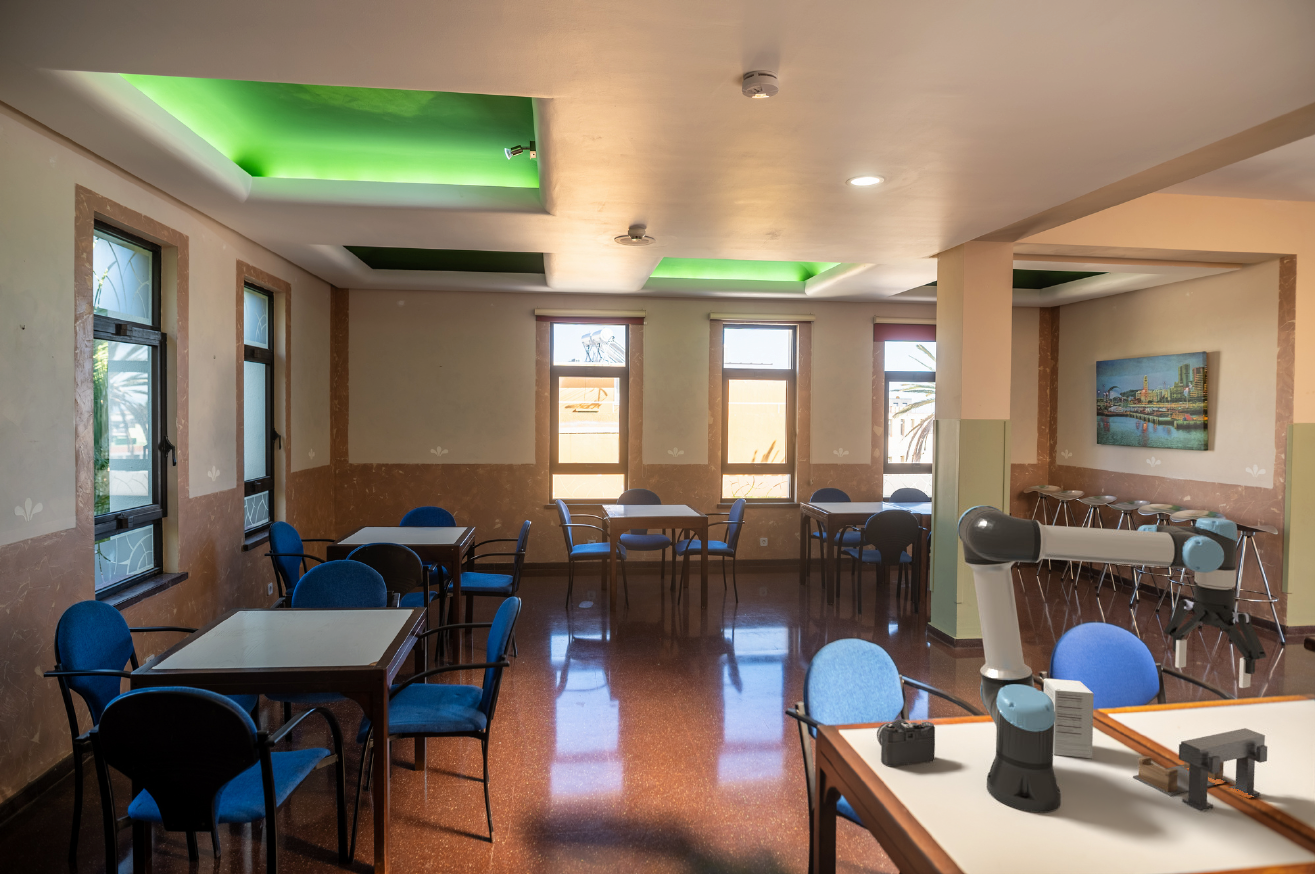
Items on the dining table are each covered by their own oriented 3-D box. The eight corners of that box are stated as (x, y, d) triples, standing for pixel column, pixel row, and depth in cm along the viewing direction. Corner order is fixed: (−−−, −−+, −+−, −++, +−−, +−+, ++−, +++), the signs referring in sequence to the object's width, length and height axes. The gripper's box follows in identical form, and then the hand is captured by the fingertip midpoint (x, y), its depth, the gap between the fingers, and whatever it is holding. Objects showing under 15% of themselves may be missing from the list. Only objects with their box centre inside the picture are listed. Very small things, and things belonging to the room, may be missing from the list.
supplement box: (1093, 759, 182) (1095, 693, 181) (1053, 755, 184) (1055, 690, 183) (1079, 742, 191) (1080, 680, 191) (1041, 738, 193) (1043, 677, 193)
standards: (1208, 814, 157) (1210, 758, 156) (1174, 798, 163) (1176, 744, 163) (1267, 799, 163) (1269, 745, 163) (1233, 783, 170) (1234, 732, 170)
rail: (1199, 767, 157) (1199, 749, 157) (1180, 758, 161) (1181, 741, 161) (1264, 752, 165) (1264, 735, 165) (1244, 744, 169) (1245, 727, 169)
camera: (911, 743, 190) (912, 705, 189) (938, 762, 179) (939, 723, 179) (864, 749, 186) (865, 711, 185) (889, 769, 175) (890, 729, 175)
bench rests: (1170, 796, 164) (1171, 773, 164) (1132, 777, 173) (1133, 756, 172) (1228, 782, 171) (1229, 760, 171) (1189, 764, 179) (1190, 744, 179)
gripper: (1288, 597, 156) (1284, 693, 156) (1169, 573, 179) (1166, 657, 179) (1267, 599, 153) (1263, 698, 153) (1149, 575, 176) (1146, 660, 177)
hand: (1211, 676), depth 166 cm, fingers open, 13 cm apart
